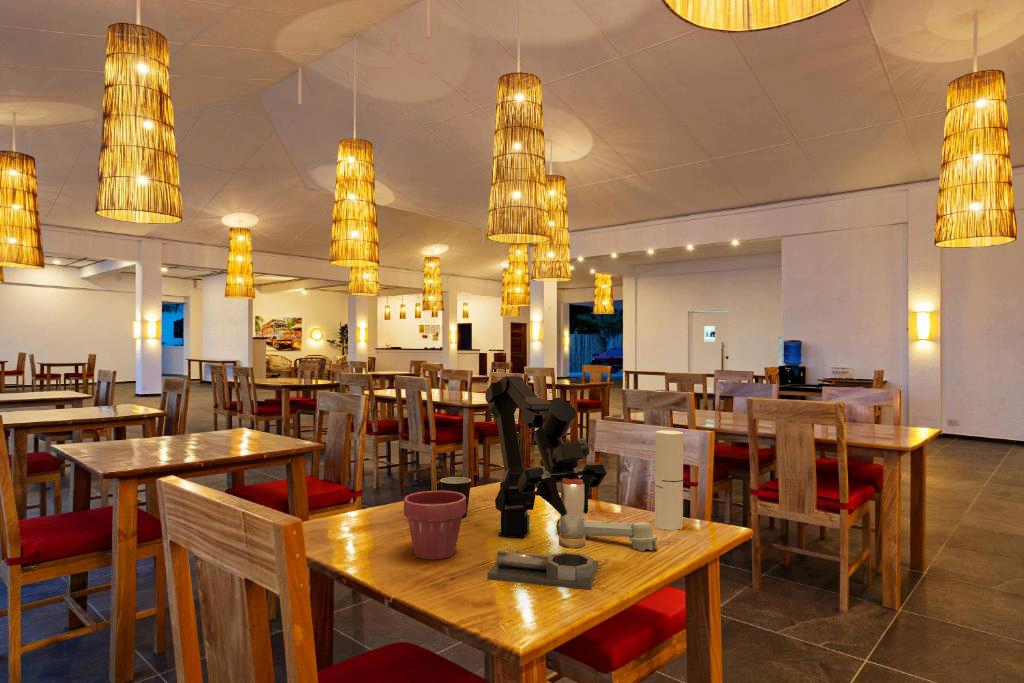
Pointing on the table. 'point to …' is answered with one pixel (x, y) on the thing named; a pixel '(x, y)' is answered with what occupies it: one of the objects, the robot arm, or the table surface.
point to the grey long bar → (621, 532)
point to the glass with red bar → (572, 514)
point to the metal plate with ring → (545, 569)
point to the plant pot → (434, 522)
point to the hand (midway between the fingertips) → (575, 513)
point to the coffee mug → (457, 487)
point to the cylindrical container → (669, 480)
